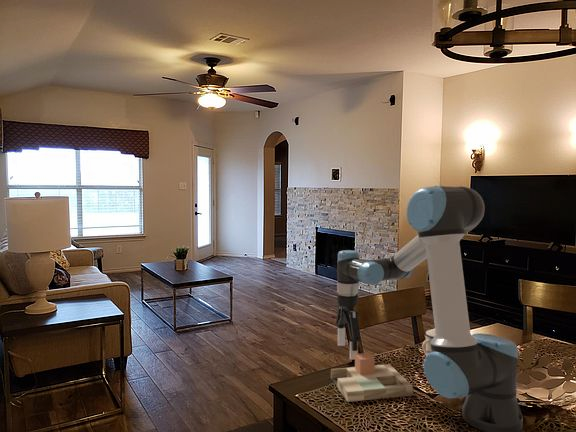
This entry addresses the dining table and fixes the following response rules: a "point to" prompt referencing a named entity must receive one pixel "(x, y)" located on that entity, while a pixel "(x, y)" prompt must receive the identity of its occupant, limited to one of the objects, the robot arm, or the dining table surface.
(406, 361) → the dining table surface
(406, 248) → the robot arm
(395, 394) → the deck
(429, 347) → the teacup with lid
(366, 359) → the block
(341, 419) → the dining table surface
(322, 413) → the dining table surface
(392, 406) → the dining table surface
